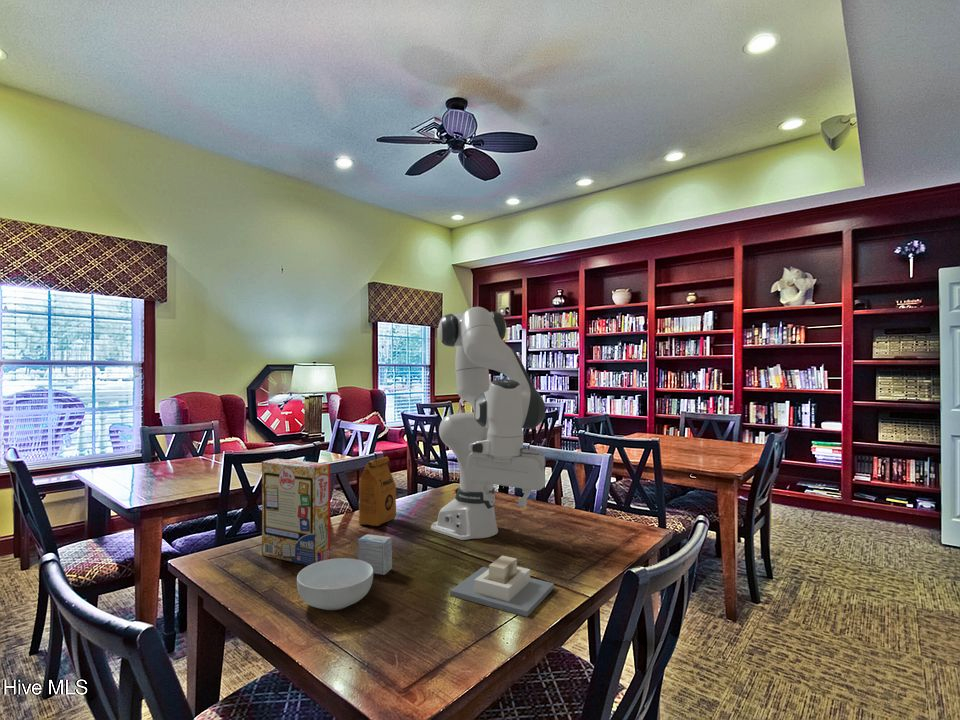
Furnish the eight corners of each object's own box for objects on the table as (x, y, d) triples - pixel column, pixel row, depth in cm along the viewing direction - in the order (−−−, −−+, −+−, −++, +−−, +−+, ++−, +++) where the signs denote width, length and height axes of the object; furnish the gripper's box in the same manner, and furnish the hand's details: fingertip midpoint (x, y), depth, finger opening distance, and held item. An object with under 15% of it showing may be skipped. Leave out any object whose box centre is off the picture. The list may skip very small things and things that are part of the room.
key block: (502, 579, 125) (502, 555, 125) (516, 583, 123) (516, 558, 123) (488, 590, 119) (488, 565, 119) (503, 594, 117) (503, 568, 117)
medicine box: (392, 569, 134) (392, 536, 134) (383, 576, 130) (384, 542, 130) (366, 565, 137) (366, 533, 137) (357, 571, 132) (357, 538, 132)
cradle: (450, 595, 119) (450, 577, 119) (482, 571, 133) (482, 555, 133) (527, 616, 109) (527, 597, 109) (553, 588, 123) (553, 571, 123)
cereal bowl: (299, 627, 105) (299, 593, 105) (294, 593, 120) (294, 564, 120) (380, 611, 111) (380, 579, 111) (365, 581, 127) (365, 553, 127)
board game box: (331, 560, 140) (331, 463, 140) (315, 568, 134) (315, 467, 134) (277, 548, 148) (277, 457, 148) (259, 556, 143) (260, 461, 143)
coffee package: (400, 519, 176) (401, 456, 176) (377, 529, 165) (377, 463, 165) (378, 515, 181) (379, 454, 181) (354, 525, 170) (354, 460, 170)
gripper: (550, 448, 119) (549, 506, 120) (476, 441, 130) (475, 494, 130) (539, 452, 114) (539, 513, 114) (463, 444, 124) (462, 500, 124)
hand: (504, 503), depth 122 cm, fingers open, 8 cm apart
